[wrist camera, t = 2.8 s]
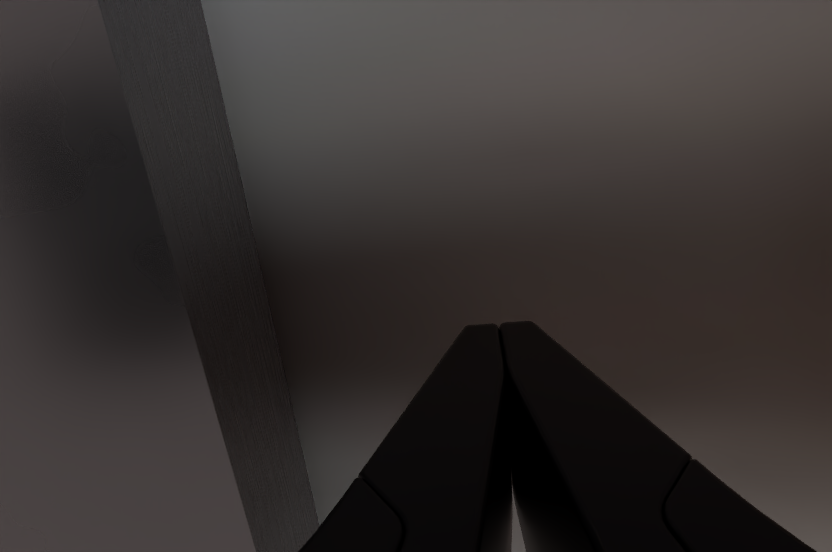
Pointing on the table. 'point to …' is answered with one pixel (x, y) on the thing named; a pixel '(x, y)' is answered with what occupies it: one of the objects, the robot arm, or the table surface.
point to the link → (133, 297)
